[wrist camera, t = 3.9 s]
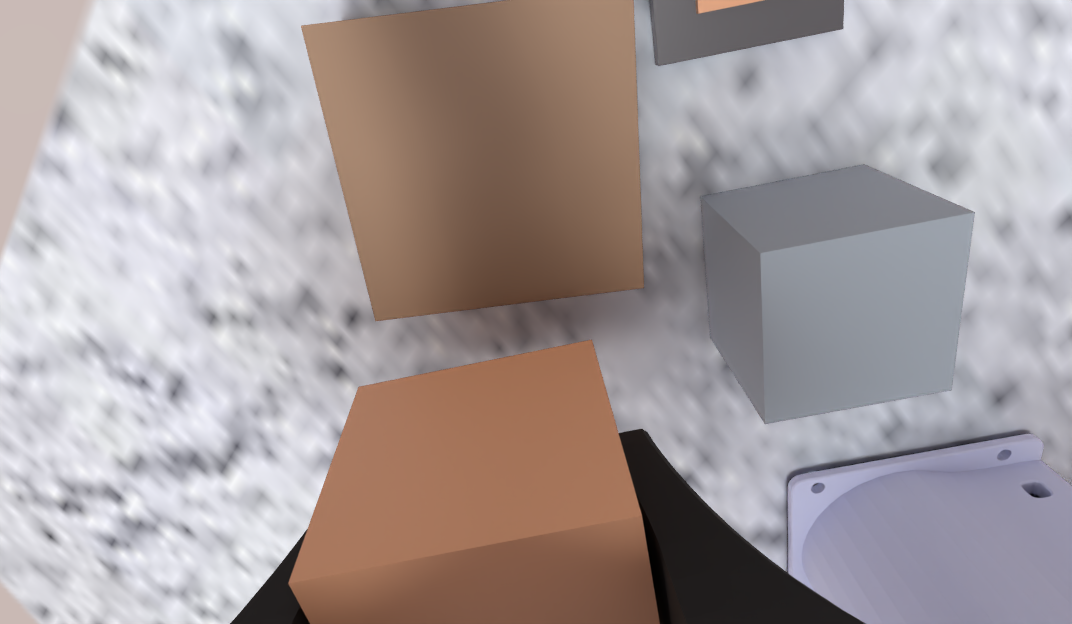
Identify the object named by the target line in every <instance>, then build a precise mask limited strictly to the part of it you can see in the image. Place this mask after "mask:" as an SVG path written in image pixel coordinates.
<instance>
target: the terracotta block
mask: <svg viewBox="0 0 1072 624" xmlns="http://www.w3.org/2000/svg"><path fill="white" fill-rule="evenodd" d="M288 584H289V586H290V588H291V589H292V591H293V593H294V595H295V597H296V599H297V600H298V602H299V604H300V606H301V608H302V610H303V612H304V613H305V615H306V617H307V619H308V621H309V623H310V624H660V622H659V616H658V610H657V604H656V597H655V591H654V585H653V579H652V573H651V567H650V561H649V555H648V549H647V543H646V537H645V531H644V525H643V519H642V514H641V510H640V507H639V503H638V500H637V496H636V493H635V489H634V486H633V482H632V479H631V475H630V472H629V468H628V465H627V461H626V458H625V454H624V451H623V447H622V444H621V440H620V437H619V433H618V430H617V426H616V423H615V419H614V416H613V412H612V409H611V405H610V402H609V398H608V395H607V391H606V388H605V384H604V381H603V377H602V374H601V370H600V367H599V363H598V360H597V356H596V353H595V349H594V346H593V342H592V340H588V341H583V342H578V343H573V344H568V345H563V346H558V347H553V348H548V349H543V350H538V351H533V352H528V353H523V354H519V355H514V356H509V357H504V358H499V359H494V360H489V361H484V362H479V363H474V364H469V365H464V366H459V367H454V368H450V369H445V370H440V371H435V372H430V373H425V374H420V375H415V376H410V377H405V378H400V379H395V380H390V381H385V382H381V383H376V384H371V385H366V386H361V387H358V390H357V393H356V395H355V398H354V401H353V404H352V407H351V409H350V412H349V415H348V418H347V421H346V423H345V426H344V429H343V432H342V435H341V437H340V440H339V443H338V446H337V449H336V451H335V454H334V457H333V460H332V463H331V465H330V468H329V471H328V474H327V476H326V479H325V482H324V485H323V488H322V490H321V493H320V496H319V499H318V502H317V504H316V507H315V510H314V513H313V516H312V518H311V521H310V524H309V527H308V530H307V532H306V535H305V538H304V541H303V544H302V546H301V549H300V552H299V555H298V558H297V560H296V563H295V566H294V569H293V571H292V574H291V577H290V580H289V583H288Z"/></svg>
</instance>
